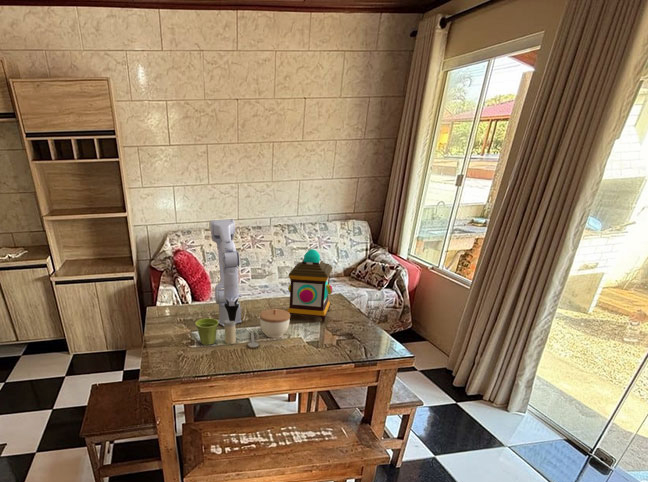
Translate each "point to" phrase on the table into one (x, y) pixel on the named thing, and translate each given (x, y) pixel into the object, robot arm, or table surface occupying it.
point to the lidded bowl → (274, 322)
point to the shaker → (230, 331)
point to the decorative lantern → (310, 287)
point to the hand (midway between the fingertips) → (232, 317)
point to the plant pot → (207, 330)
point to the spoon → (253, 342)
